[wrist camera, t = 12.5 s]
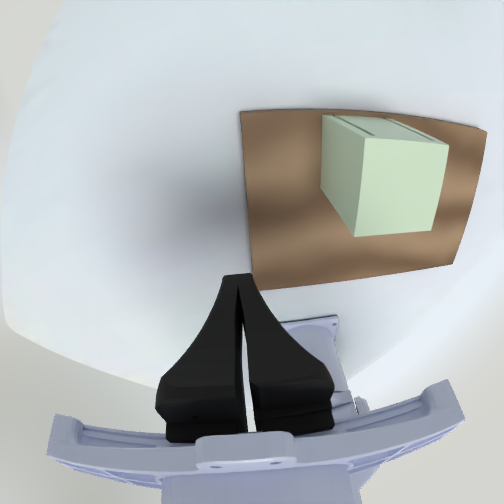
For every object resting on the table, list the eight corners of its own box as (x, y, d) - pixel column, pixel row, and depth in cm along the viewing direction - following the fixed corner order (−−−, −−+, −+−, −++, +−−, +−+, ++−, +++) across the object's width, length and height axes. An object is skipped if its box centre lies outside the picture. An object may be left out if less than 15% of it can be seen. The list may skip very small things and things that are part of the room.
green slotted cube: (384, 185, 20) (430, 230, 15) (320, 187, 20) (353, 237, 15) (391, 118, 17) (449, 145, 12) (322, 114, 17) (364, 137, 12)
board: (447, 257, 27) (452, 264, 26) (253, 282, 26) (254, 291, 25) (478, 128, 18) (487, 132, 17) (240, 111, 18) (240, 113, 17)
